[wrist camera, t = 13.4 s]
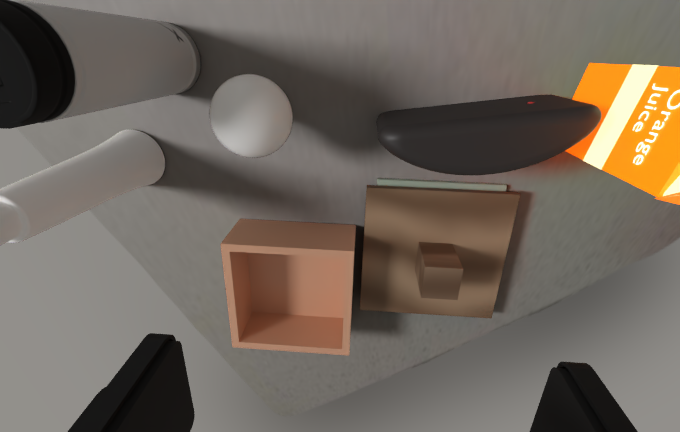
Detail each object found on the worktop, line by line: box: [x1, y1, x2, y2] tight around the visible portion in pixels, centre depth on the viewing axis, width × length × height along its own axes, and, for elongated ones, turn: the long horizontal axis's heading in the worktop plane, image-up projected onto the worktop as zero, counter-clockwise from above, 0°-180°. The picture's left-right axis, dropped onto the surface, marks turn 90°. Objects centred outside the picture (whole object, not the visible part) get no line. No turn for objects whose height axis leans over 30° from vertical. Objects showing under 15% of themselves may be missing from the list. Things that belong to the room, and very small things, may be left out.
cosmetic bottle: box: [0, 130, 165, 245], centre depth 30 cm, size 6×6×22 cm
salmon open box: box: [221, 219, 356, 355], centre depth 41 cm, size 13×13×6 cm
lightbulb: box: [209, 74, 293, 158], centre depth 31 cm, size 6×6×11 cm
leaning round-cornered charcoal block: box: [376, 95, 602, 175], centre depth 32 cm, size 16×5×9 cm, turn 97°
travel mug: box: [0, 0, 201, 128], centre depth 26 cm, size 6×7×20 cm
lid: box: [360, 185, 520, 318], centre depth 38 cm, size 15×15×6 cm
